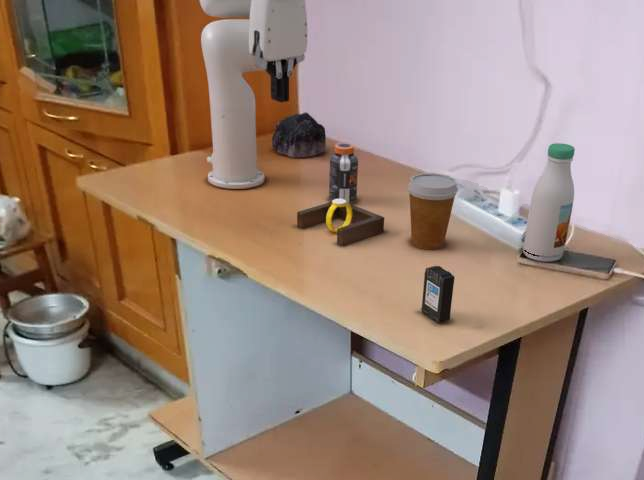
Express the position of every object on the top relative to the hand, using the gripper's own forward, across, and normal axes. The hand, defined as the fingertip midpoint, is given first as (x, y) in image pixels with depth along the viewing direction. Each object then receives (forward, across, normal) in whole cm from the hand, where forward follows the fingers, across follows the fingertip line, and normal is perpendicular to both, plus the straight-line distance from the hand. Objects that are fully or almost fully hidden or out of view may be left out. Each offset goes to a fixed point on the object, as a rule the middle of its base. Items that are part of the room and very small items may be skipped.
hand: (280, 99), depth 153 cm
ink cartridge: (+22, +6, +47) cm, 52 cm away
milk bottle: (+23, -30, +42) cm, 57 cm away
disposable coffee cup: (+23, -16, +25) cm, 38 cm away
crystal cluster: (+26, -36, -36) cm, 57 cm away
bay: (+23, -7, +9) cm, 26 cm away
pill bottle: (+24, -20, -3) cm, 32 cm away
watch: (+24, -8, +9) cm, 26 cm away
